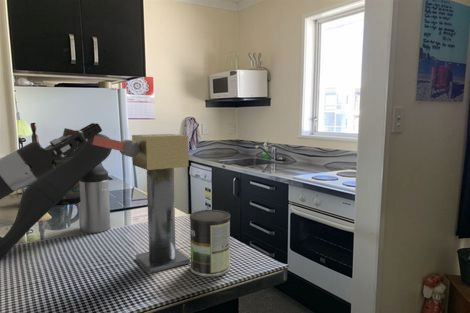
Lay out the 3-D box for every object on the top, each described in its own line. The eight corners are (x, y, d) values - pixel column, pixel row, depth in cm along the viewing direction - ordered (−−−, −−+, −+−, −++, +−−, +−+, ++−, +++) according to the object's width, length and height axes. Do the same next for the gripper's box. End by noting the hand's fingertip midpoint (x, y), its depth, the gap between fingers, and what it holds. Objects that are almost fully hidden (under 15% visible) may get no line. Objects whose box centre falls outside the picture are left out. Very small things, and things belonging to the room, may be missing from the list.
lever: (132, 157, 90) (136, 141, 90) (137, 158, 86) (141, 142, 87) (61, 141, 80) (65, 124, 81) (63, 142, 77) (68, 124, 77)
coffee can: (189, 277, 85) (188, 221, 83) (191, 260, 95) (190, 209, 94) (231, 276, 86) (231, 220, 84) (229, 259, 96) (228, 209, 94)
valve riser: (150, 273, 87) (146, 136, 84) (136, 258, 96) (131, 134, 93) (190, 263, 93) (188, 135, 90) (173, 250, 103) (170, 133, 99)
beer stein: (97, 199, 167) (95, 146, 165) (58, 207, 151) (55, 150, 148) (76, 195, 176) (74, 145, 173) (37, 202, 160) (34, 148, 157)
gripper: (34, 175, 83) (100, 138, 90) (38, 185, 71) (114, 142, 78) (14, 148, 80) (83, 112, 87) (15, 154, 68) (95, 112, 75)
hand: (97, 126), depth 83 cm, fingers closed on lever, 3 cm apart
